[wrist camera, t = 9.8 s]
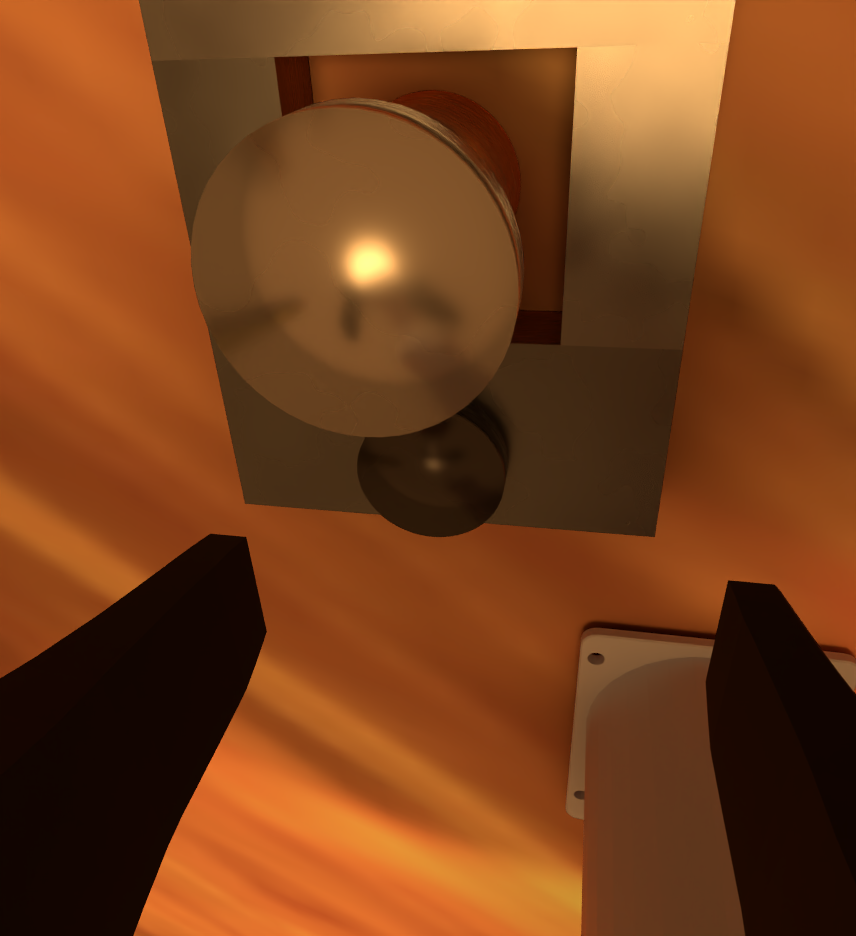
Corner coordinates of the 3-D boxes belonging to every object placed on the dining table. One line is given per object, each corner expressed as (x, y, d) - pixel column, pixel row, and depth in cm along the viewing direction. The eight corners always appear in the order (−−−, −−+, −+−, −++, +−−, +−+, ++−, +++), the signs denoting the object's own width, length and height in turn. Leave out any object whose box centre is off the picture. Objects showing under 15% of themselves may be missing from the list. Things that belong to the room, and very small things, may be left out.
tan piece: (650, 492, 21) (656, 562, 18) (270, 464, 23) (230, 525, 20) (767, -334, 12) (808, -411, 10) (138, -260, 14) (40, -309, 12)
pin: (541, 299, 18) (512, 448, 13) (335, 291, 19) (222, 426, 14) (554, 56, 16) (525, 107, 10) (313, 60, 17) (157, 108, 11)
